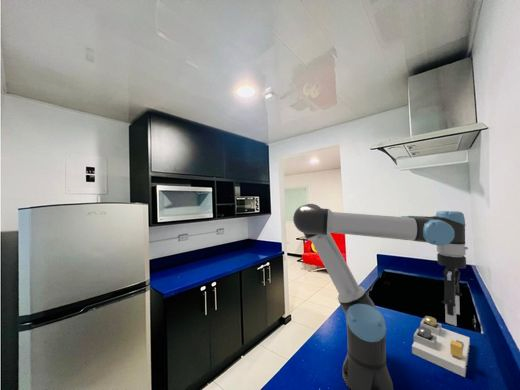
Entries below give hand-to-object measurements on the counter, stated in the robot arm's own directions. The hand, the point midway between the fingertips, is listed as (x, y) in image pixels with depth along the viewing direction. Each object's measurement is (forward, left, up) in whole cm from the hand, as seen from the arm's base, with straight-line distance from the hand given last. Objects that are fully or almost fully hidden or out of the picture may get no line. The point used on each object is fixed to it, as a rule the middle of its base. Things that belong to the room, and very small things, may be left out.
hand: (452, 318), depth 73 cm
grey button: (+8, +10, -15) cm, 19 cm away
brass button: (+20, +9, -15) cm, 27 cm away
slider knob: (+7, 0, -16) cm, 18 cm away
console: (+13, +5, -20) cm, 24 cm away
